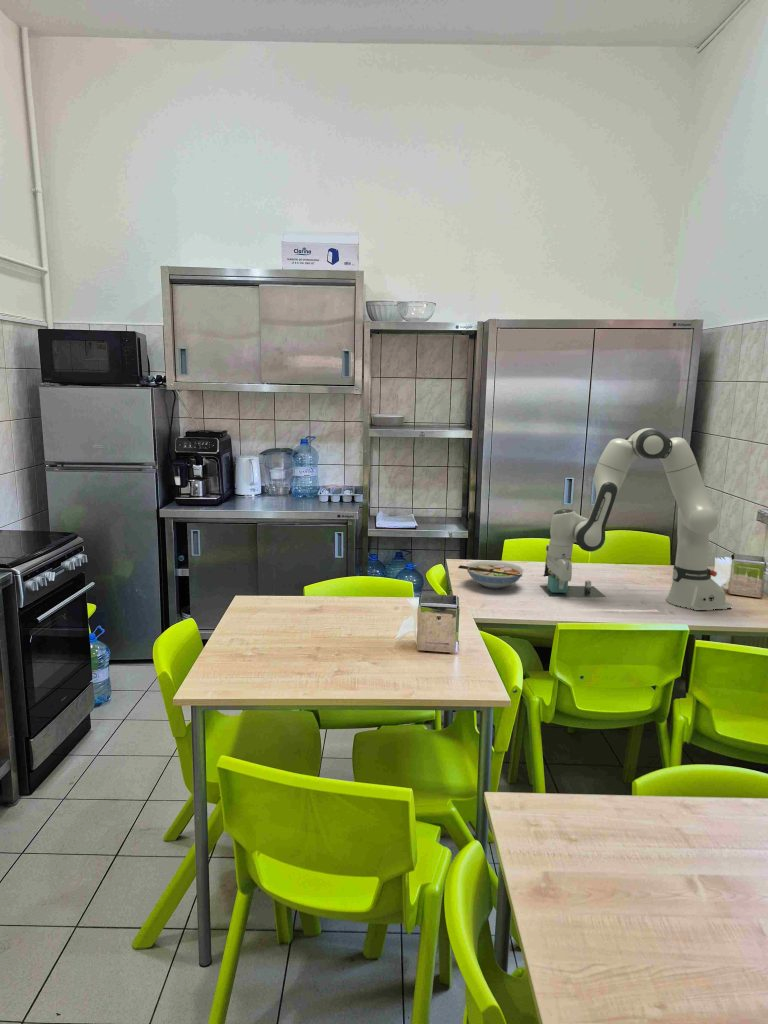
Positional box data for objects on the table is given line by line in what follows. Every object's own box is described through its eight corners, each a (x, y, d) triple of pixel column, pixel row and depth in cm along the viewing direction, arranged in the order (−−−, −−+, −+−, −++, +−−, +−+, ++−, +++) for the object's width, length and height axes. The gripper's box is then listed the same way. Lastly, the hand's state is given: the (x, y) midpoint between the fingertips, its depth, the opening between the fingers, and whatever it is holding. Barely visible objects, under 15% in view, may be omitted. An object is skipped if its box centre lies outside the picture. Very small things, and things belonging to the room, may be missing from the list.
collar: (562, 587, 266) (563, 575, 265) (567, 592, 260) (568, 580, 259) (547, 587, 266) (548, 575, 265) (551, 592, 260) (552, 579, 259)
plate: (593, 588, 271) (595, 571, 270) (606, 599, 257) (608, 581, 256) (539, 587, 270) (540, 570, 268) (549, 599, 256) (550, 580, 255)
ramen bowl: (531, 583, 275) (532, 564, 274) (517, 599, 255) (519, 578, 253) (472, 574, 286) (473, 555, 284) (454, 588, 265) (455, 568, 264)
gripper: (577, 558, 250) (574, 594, 253) (560, 545, 270) (557, 578, 273) (560, 558, 250) (557, 594, 252) (544, 544, 270) (542, 578, 272)
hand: (557, 585), depth 263 cm, fingers closed on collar, 6 cm apart
